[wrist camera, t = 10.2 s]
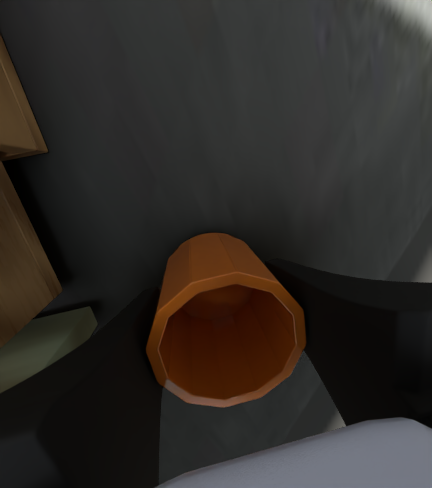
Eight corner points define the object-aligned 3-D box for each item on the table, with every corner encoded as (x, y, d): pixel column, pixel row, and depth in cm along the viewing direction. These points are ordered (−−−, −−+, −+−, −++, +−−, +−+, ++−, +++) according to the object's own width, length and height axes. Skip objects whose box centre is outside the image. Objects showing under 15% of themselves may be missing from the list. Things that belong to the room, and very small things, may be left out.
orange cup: (265, 307, 13) (310, 384, 8) (177, 329, 13) (172, 422, 8) (252, 222, 11) (300, 256, 7) (151, 245, 11) (124, 298, 6)
